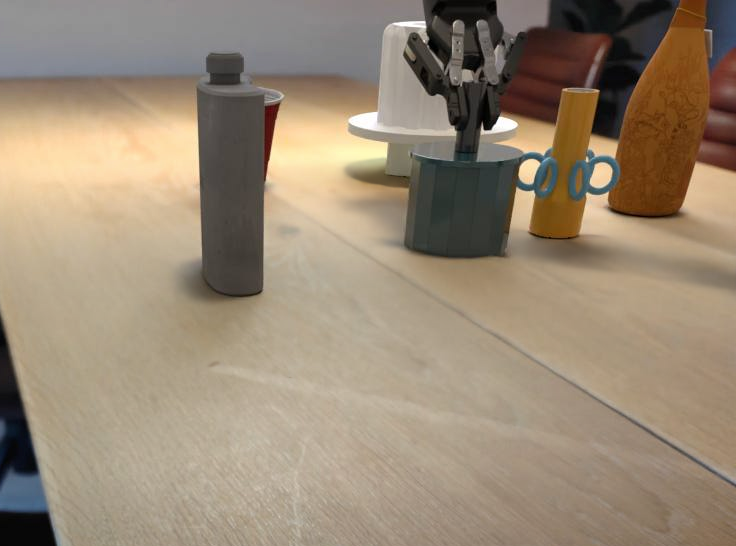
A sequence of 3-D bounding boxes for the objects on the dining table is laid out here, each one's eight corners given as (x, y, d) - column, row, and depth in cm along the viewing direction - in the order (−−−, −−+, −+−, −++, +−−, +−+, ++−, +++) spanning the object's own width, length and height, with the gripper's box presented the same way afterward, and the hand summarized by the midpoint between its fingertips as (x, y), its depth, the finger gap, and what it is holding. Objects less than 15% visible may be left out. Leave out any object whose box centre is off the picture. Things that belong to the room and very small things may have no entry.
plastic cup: (225, 197, 126) (223, 97, 119) (197, 182, 134) (193, 88, 126) (295, 190, 129) (297, 93, 122) (264, 176, 137) (264, 84, 130)
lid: (536, 159, 101) (550, 78, 97) (501, 179, 93) (515, 91, 88) (432, 149, 106) (440, 71, 102) (390, 167, 98) (396, 83, 93)
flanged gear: (478, 196, 126) (500, 33, 115) (318, 178, 136) (323, 26, 125) (530, 166, 144) (554, 22, 132) (384, 152, 153) (395, 16, 142)
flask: (198, 256, 102) (190, 45, 90) (249, 255, 103) (248, 44, 90) (208, 297, 90) (201, 60, 78) (266, 295, 91) (268, 60, 79)
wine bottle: (682, 221, 115) (762, -80, 97) (601, 214, 118) (665, -80, 100) (682, 204, 123) (757, -78, 104) (606, 198, 125) (667, -78, 107)
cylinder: (544, 217, 117) (569, 81, 108) (618, 232, 111) (651, 90, 102) (488, 233, 110) (509, 90, 101) (563, 250, 104) (592, 99, 95)
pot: (518, 243, 107) (533, 153, 101) (486, 268, 99) (500, 171, 93) (425, 231, 111) (434, 144, 105) (387, 253, 103) (395, 160, 97)
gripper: (402, -53, 93) (422, 101, 91) (531, -53, 95) (554, 99, 93) (384, 7, 101) (402, 151, 98) (505, 6, 102) (525, 148, 100)
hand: (476, 125), depth 96 cm, fingers closed on lid, 2 cm apart
